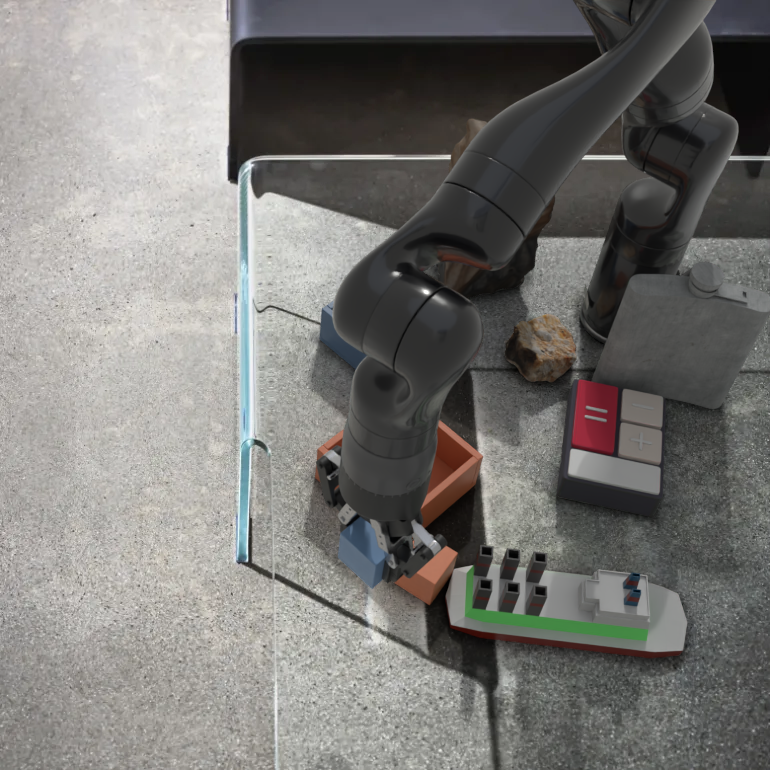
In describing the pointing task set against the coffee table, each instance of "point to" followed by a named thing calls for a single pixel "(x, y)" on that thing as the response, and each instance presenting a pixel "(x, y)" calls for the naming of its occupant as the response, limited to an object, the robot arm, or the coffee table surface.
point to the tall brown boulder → (513, 273)
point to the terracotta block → (430, 576)
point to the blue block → (362, 552)
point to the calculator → (613, 448)
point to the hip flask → (682, 335)
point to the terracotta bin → (438, 471)
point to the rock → (541, 348)
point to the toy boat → (565, 607)
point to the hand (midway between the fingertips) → (371, 556)
